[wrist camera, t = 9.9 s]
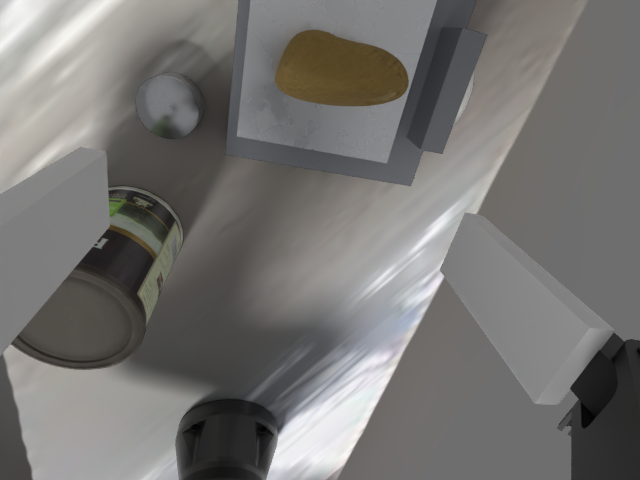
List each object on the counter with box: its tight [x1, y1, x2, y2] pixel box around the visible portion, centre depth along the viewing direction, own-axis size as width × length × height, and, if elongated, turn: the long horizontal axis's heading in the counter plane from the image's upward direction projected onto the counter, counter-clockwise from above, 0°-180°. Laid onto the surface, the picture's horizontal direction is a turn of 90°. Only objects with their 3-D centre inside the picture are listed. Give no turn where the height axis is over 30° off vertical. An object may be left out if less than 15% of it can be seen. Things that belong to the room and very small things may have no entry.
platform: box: [237, 0, 437, 163], centre depth 29 cm, size 13×13×1 cm
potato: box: [275, 30, 409, 106], centre depth 25 cm, size 7×8×8 cm
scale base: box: [225, 0, 487, 186], centre depth 30 cm, size 18×19×7 cm
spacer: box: [135, 73, 204, 139], centre depth 32 cm, size 5×5×3 cm
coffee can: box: [11, 186, 183, 370], centre depth 33 cm, size 10×10×14 cm
